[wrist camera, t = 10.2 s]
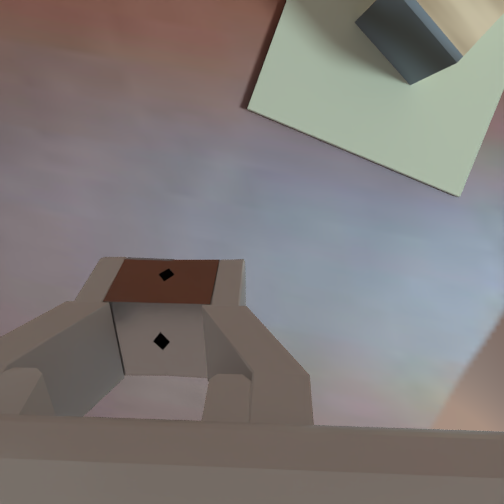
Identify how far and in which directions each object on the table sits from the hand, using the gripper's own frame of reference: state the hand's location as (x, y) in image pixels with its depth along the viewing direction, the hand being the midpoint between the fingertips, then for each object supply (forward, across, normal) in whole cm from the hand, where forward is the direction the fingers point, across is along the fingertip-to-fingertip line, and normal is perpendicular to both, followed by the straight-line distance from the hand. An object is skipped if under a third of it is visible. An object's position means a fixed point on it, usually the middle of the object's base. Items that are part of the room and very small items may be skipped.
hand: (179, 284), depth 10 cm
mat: (+26, -10, -2) cm, 28 cm away
